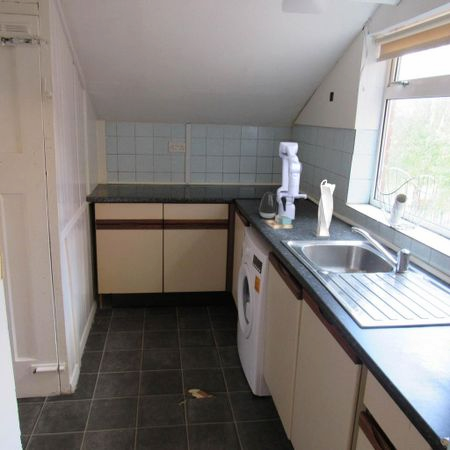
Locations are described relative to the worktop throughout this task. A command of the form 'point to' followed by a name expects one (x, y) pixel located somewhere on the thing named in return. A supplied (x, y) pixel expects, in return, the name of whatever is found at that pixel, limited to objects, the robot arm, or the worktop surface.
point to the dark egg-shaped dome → (268, 205)
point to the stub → (285, 220)
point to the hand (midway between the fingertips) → (291, 211)
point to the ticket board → (277, 223)
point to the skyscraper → (325, 210)
